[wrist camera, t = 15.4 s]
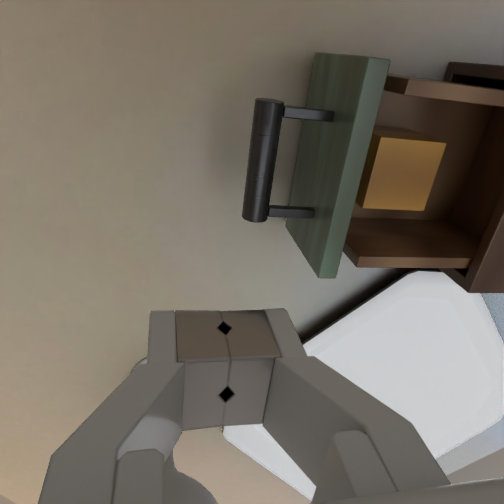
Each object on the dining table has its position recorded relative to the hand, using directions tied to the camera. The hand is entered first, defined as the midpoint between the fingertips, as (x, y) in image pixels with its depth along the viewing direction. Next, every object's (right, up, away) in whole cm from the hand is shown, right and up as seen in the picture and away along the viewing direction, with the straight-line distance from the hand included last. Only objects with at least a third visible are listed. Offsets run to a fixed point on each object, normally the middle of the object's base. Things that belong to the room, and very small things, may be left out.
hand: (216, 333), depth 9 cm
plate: (+15, -14, +36) cm, 41 cm away
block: (+9, +9, +20) cm, 23 cm away
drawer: (+9, +9, +20) cm, 24 cm away
